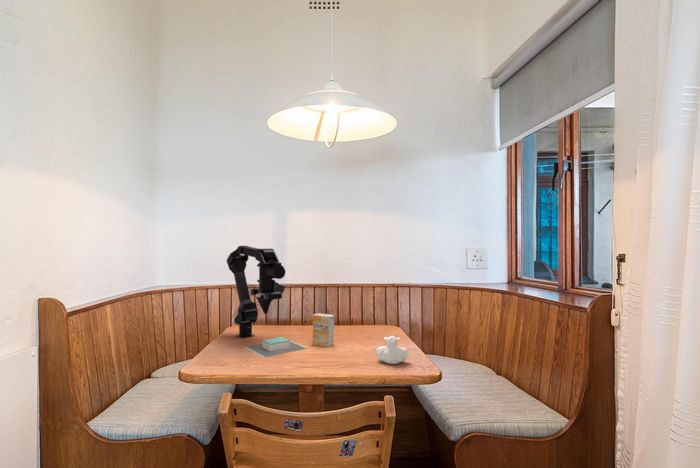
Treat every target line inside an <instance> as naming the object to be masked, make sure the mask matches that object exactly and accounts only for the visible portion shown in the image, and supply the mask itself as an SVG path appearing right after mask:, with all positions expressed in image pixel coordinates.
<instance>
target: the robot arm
mask: <svg viewBox="0 0 700 468" xmlns="http://www.w3.org/2000/svg"><path fill="white" fill-rule="evenodd" d="M249 257H252V258H254V259H255V260H256V261H258V263H257V265H256V267H258V279H256V280H257V281H256V282H257V283H258V288H252V289H251V290H250V291H249V286H248V282H247V277H246V273H245V270H246V268H247V262H248V260H249ZM226 264H227V266H228V270H229V271H230V272H231V273H232V274H233V276H234V281H235V286H236V290H237V296H238V300H239V304H238V308H237V314H236V316H235V317H234V324H236V325H238V326H239V327H238V330H239V331H238V334H236V337H238V338H240V339H246V338H252V337H256V335H255V334H253V323H257V321H258V315H259V310H258V307H257V303H256V302H255V301H254V302H253V300H252V299H251V296H255V295H257V296H256V297H255V298H256V300H257V301H258V303H259V305H260V307H261V309H262V311H263V314H264V315H267V314H268V312H269V309H270V305H271V303H272V301H273V300H280V299H282V298H283V294H284V291H285V288H286V286H285V285H283V284H282V285H281V284H279V282H277V281H276V280H275V279H277V280H281V279H283V278H284V277H285V276H286V270H285V267H284V266H283V265H282V262H280V259H279V258H278V256H277V254H276V251H275V249H274V248H257V247H252V246H250V245H249V246H248V245H239V246H237V247H236V249H235V250H233V251H232V252H230V254H229V255H228V257H227V258H226Z"/></svg>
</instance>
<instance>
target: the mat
mask: <svg viewBox="0 0 700 468" xmlns="http://www.w3.org/2000/svg"><path fill="white" fill-rule="evenodd" d="M244 348H245V349H246V350H249V351H250V352H252V353H254V354H255V355H257V356H259V357H261V358H263V359H264V358H269V357H273V356H279V355H283V354H287V353H292V352H293V353H294V352H297V351H302V350H303V351H304V350H308V349H309V347H306V346H304V345H303V344H299V343H296V342H294V341H292V340H290V348H286V349H281V350H275V351H268V350H266V349H264V348H262V343H257V344H253V345H246V346H244Z"/></svg>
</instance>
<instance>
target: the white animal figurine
mask: <svg viewBox="0 0 700 468" xmlns="http://www.w3.org/2000/svg"><path fill="white" fill-rule="evenodd" d="M383 339H384V341H385V342H386V343H385V345H386V346H385V345H383V346H378V347H377V348H376V349H375V352H376V356H377V358H378V360H380V361H382V362H384V363H386V364H390V365H397V364H399V363H401V362H405V361H406V360H407V358H408V355H409V350H408V349H407V348H406V347H403V346H398V345H399V344H398V342H400V340H401V337H395V335H389V336H388V337H387V336H384V337H383Z"/></svg>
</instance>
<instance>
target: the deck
mask: <svg viewBox="0 0 700 468" xmlns="http://www.w3.org/2000/svg"><path fill="white" fill-rule="evenodd" d="M290 341H291V339H288V338H285V337H283V336H278V337H273V338H267V339H262V340H261V342H262V343H261V344H262V348H264V349H266V350H268V351H275V350H281V349H286V348H290Z"/></svg>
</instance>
